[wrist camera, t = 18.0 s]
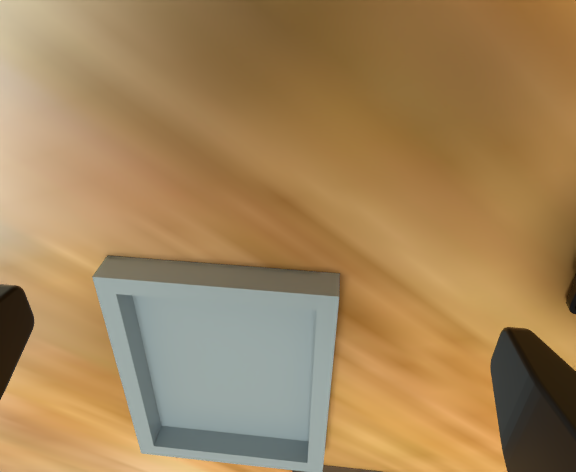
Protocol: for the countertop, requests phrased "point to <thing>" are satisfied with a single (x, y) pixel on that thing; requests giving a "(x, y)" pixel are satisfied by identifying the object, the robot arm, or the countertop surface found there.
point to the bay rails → (341, 469)
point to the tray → (223, 358)
